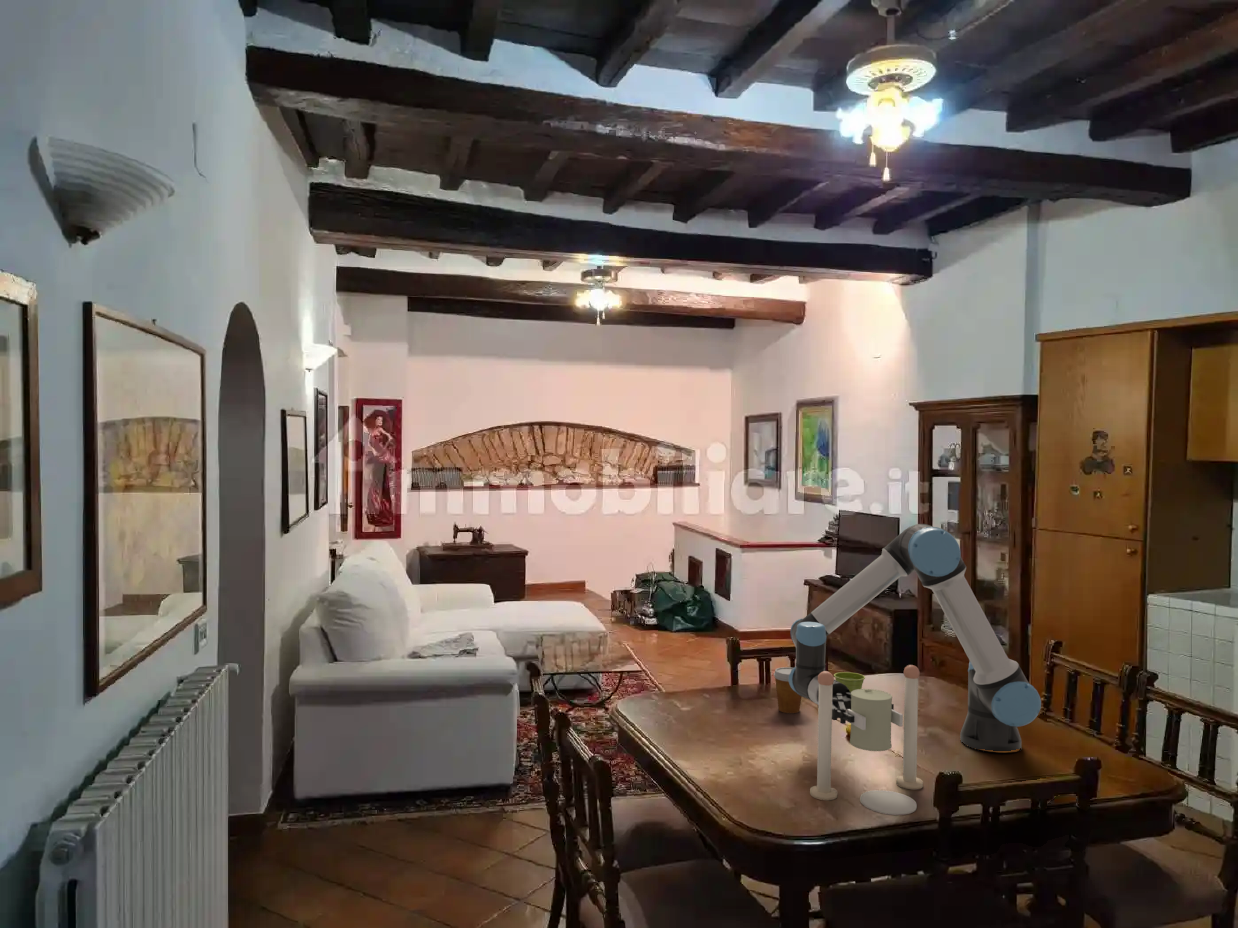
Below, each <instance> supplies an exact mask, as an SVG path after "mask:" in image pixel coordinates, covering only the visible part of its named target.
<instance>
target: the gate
mask: <svg viewBox="0 0 1238 928" xmlns="http://www.w3.org/2000/svg"><path fill="white" fill-rule="evenodd" d="M903 669H904V670H903V676H904V698H903V699H904V701H903V702H904V705H903V707H904V708H903V711H904V712H903V748H902V749H903V751H902V754H903V755H902V760H903V761H902V762H903V763H902V775H898V776H896V778H895V784H896V785H897V786H899V788H902V789H906V790H921V789H923V788H924V781H923V780H922V779H921V778H920V777H917V765H918V764H917V763H918V762H917V761H918V755H917V753H918V719H919V718H918V713H919V711H918V710H919V707H918V706H919V677H920V675H921V672H920V669H919V668H918V667H917V666H916V665H913V664H908V665H906V666H905V667H904V668H903ZM834 680H835V677H834V674H832V673H831V672H829V671H827V670H825V671H823V672H821V673H820V674H819V675H818V682H819V706H818V705H817V709H818V711H817V714H818V718H817V719H818V722H817V761H816V762H817V770H816V772H817V773H816V777H817V778H816V785H814V786H811V787H810V789H809V790H810V791H809V794H810V796H811V797H812V798H814V799H815V800H816V799H817V800H820V801H833V800H834V801H835V800H836V799H837V798H838V790H837V789H836V788H834V787H832V786H831V785H832V784H831V781H832V779H831V778H832V738H833V737H832V731H833V729H832V727H833V723H832V722H833V720H832V684H833V682H834Z"/></svg>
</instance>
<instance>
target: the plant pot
mask: <svg viewBox="0 0 1238 928" xmlns="http://www.w3.org/2000/svg"><path fill="white" fill-rule="evenodd" d="M833 677H834V680H836V681H838V682H840V683H842V684H844V685H846V686H847V688H848V689H849V691H850V693H851V692H852V691H853V690H857V689H863V684H864V680H865V679H866V677H865V675H863V674H860V673H857V672H850V671H844V672H843V671H840V672H836V673H834V674H833Z"/></svg>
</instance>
